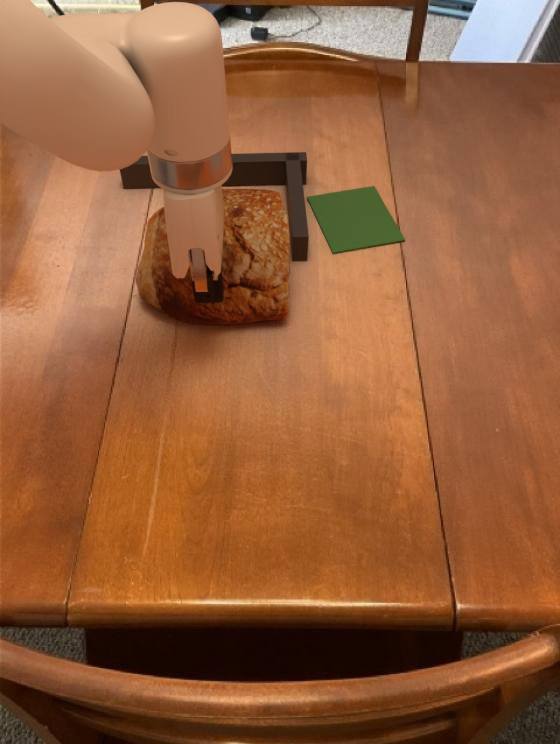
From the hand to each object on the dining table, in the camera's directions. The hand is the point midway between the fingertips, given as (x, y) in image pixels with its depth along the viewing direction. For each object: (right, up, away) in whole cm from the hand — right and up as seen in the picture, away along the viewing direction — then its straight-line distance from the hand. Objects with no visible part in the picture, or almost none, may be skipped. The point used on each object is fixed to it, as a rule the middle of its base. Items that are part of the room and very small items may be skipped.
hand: (209, 297), depth 76 cm
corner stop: (-1, +13, +16) cm, 21 cm away
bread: (0, +4, +10) cm, 11 cm away
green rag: (+18, +12, +17) cm, 27 cm away
